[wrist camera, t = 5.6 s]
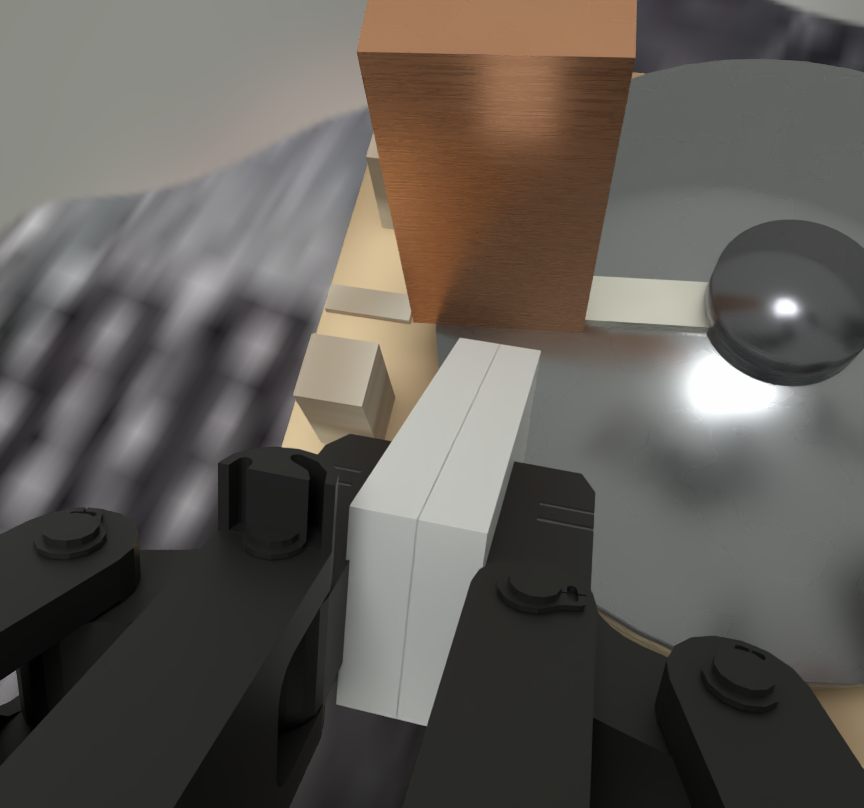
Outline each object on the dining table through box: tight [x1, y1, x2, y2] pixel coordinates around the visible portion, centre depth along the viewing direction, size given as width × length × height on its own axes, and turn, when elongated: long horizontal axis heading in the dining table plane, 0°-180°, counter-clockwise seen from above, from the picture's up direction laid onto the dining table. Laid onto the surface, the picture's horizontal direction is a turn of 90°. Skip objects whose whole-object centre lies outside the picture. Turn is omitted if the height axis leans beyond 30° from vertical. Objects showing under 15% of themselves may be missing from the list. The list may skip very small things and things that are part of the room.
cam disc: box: [357, 0, 864, 690], centre depth 15 cm, size 16×16×10 cm
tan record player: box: [282, 73, 864, 769], centre depth 19 cm, size 25×19×4 cm
